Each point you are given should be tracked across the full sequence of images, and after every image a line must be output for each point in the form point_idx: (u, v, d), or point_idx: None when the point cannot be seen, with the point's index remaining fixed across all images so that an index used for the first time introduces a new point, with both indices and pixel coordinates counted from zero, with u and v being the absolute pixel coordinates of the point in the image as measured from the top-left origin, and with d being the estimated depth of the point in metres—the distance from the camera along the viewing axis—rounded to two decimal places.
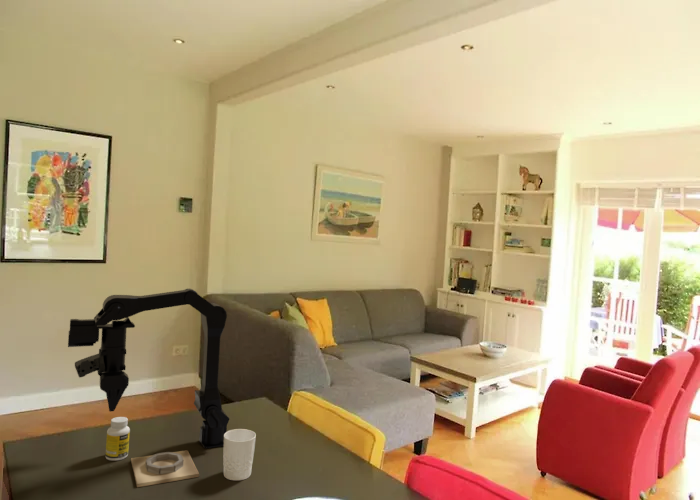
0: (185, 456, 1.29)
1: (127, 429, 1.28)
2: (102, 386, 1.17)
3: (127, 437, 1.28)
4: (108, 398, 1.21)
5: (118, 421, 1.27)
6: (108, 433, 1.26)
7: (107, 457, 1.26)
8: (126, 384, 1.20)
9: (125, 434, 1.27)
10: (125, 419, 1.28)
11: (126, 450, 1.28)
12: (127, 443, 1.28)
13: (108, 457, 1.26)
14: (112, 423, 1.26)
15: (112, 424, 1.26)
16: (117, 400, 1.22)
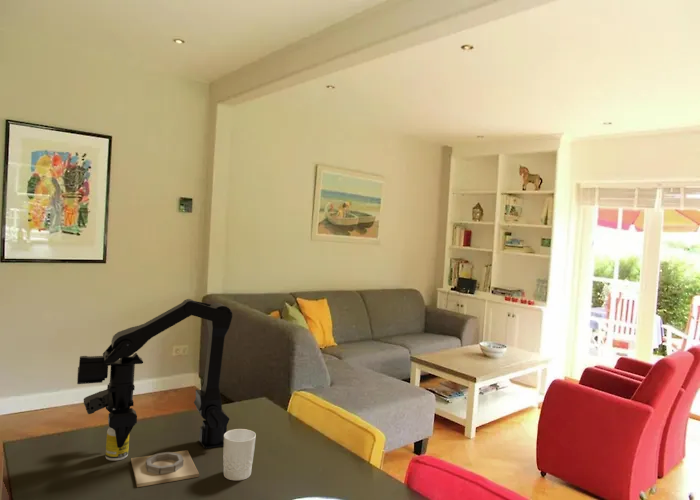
0: (185, 456, 1.29)
1: None
2: (111, 424, 1.19)
3: (127, 437, 1.28)
4: (116, 435, 1.23)
5: None
6: (108, 433, 1.26)
7: (107, 457, 1.26)
8: (134, 422, 1.21)
9: None
10: None
11: (126, 450, 1.28)
12: (127, 443, 1.28)
13: (108, 457, 1.26)
14: None
15: None
16: (125, 437, 1.24)
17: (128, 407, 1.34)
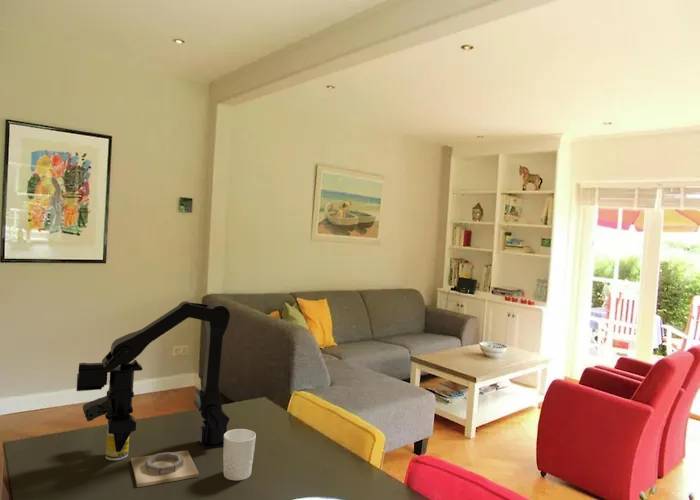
0: (185, 456, 1.29)
1: None
2: (110, 431, 1.19)
3: None
4: (115, 439, 1.24)
5: None
6: None
7: (107, 457, 1.26)
8: (134, 429, 1.21)
9: None
10: None
11: (126, 450, 1.28)
12: (127, 443, 1.28)
13: (108, 457, 1.26)
14: None
15: None
16: (124, 441, 1.25)
17: None
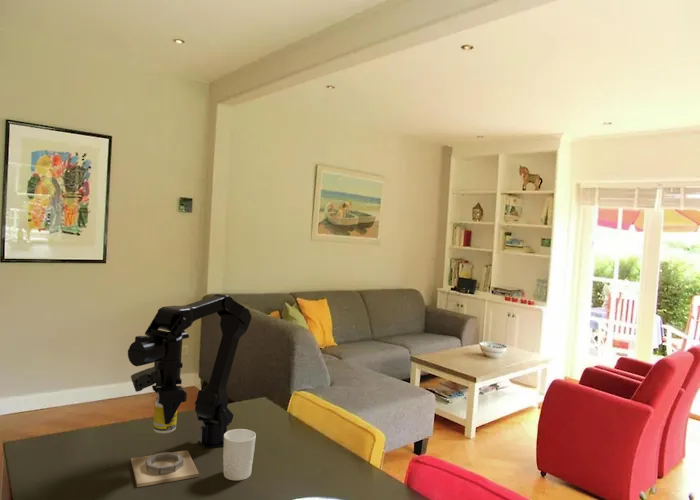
0: (185, 456, 1.29)
1: None
2: (161, 401, 1.14)
3: None
4: (164, 411, 1.19)
5: None
6: (156, 405, 1.21)
7: (155, 429, 1.21)
8: (184, 399, 1.17)
9: None
10: None
11: (174, 423, 1.23)
12: (175, 415, 1.23)
13: (156, 429, 1.21)
14: None
15: None
16: (173, 413, 1.21)
17: None
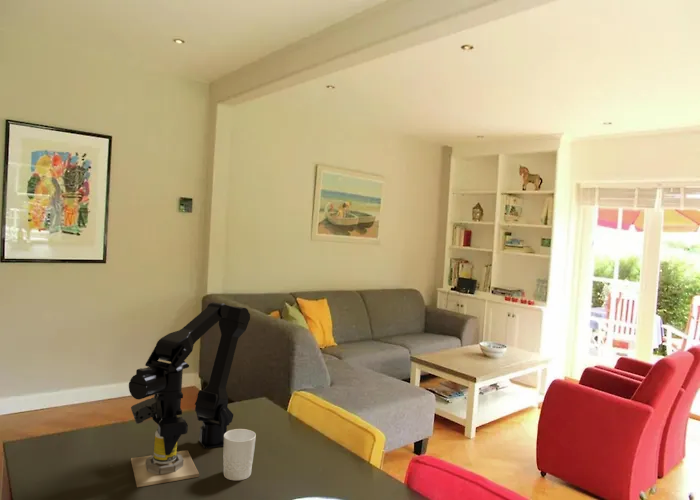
0: (185, 456, 1.29)
1: None
2: (162, 434, 1.14)
3: None
4: (165, 442, 1.20)
5: None
6: (157, 436, 1.21)
7: (156, 460, 1.21)
8: (185, 431, 1.17)
9: None
10: None
11: (175, 453, 1.23)
12: (176, 446, 1.23)
13: (157, 460, 1.21)
14: None
15: None
16: (173, 444, 1.21)
17: (175, 417, 1.28)
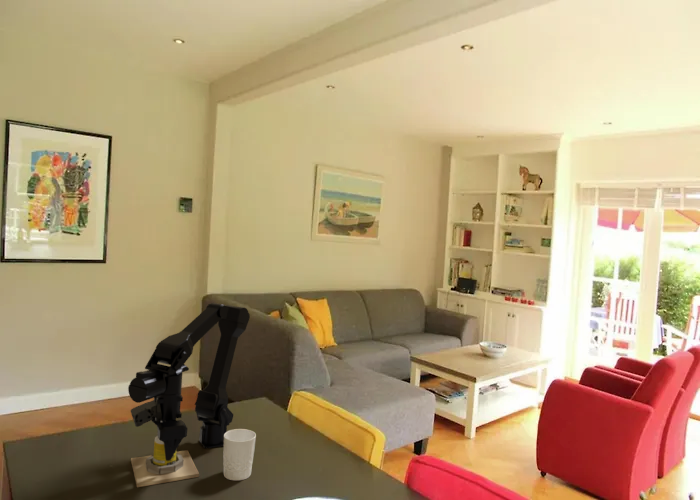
0: (185, 456, 1.29)
1: None
2: (162, 437, 1.14)
3: None
4: (165, 447, 1.18)
5: None
6: (156, 441, 1.22)
7: None
8: (185, 434, 1.17)
9: None
10: None
11: (174, 459, 1.23)
12: (175, 451, 1.23)
13: None
14: None
15: None
16: (174, 449, 1.20)
17: None
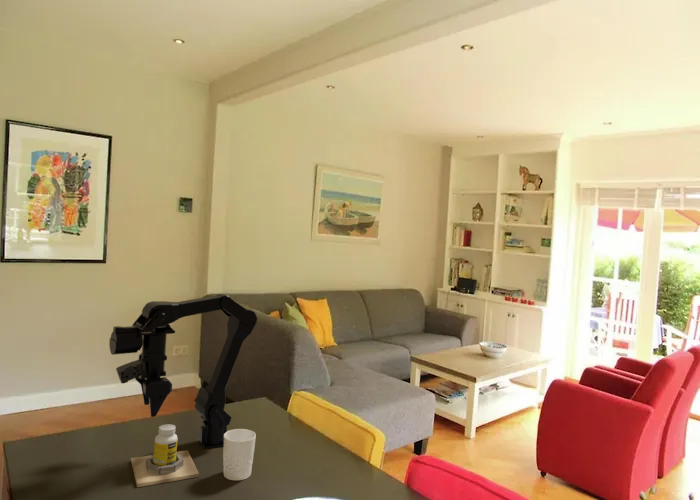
0: (185, 456, 1.29)
1: (175, 437, 1.23)
2: (147, 392, 1.19)
3: (175, 445, 1.23)
4: (151, 404, 1.23)
5: (166, 429, 1.22)
6: (156, 441, 1.22)
7: None
8: (170, 390, 1.22)
9: (173, 442, 1.22)
10: (173, 427, 1.24)
11: (174, 459, 1.23)
12: (175, 451, 1.23)
13: None
14: (160, 431, 1.22)
15: (160, 432, 1.22)
16: (159, 405, 1.24)
17: None
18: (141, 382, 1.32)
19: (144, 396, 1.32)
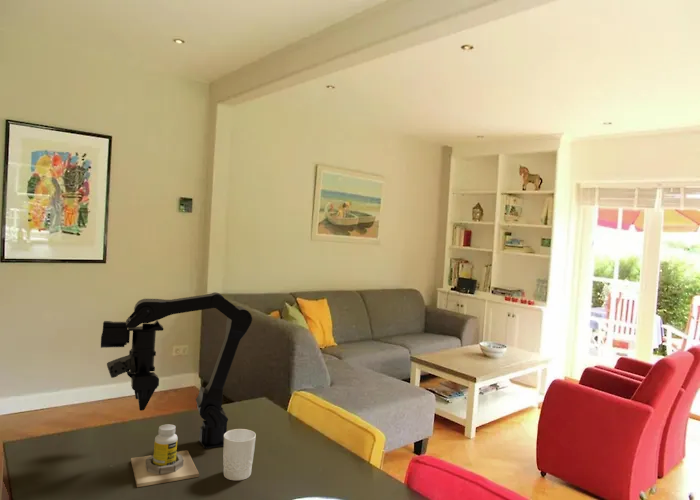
0: (185, 456, 1.29)
1: (175, 437, 1.23)
2: (134, 386, 1.23)
3: (175, 445, 1.23)
4: (139, 398, 1.27)
5: (166, 429, 1.22)
6: (156, 441, 1.22)
7: None
8: (157, 384, 1.25)
9: (173, 442, 1.22)
10: (173, 427, 1.24)
11: (174, 459, 1.23)
12: (175, 451, 1.23)
13: None
14: (160, 431, 1.22)
15: (160, 432, 1.22)
16: (147, 400, 1.28)
17: None
18: None
19: (135, 390, 1.36)
